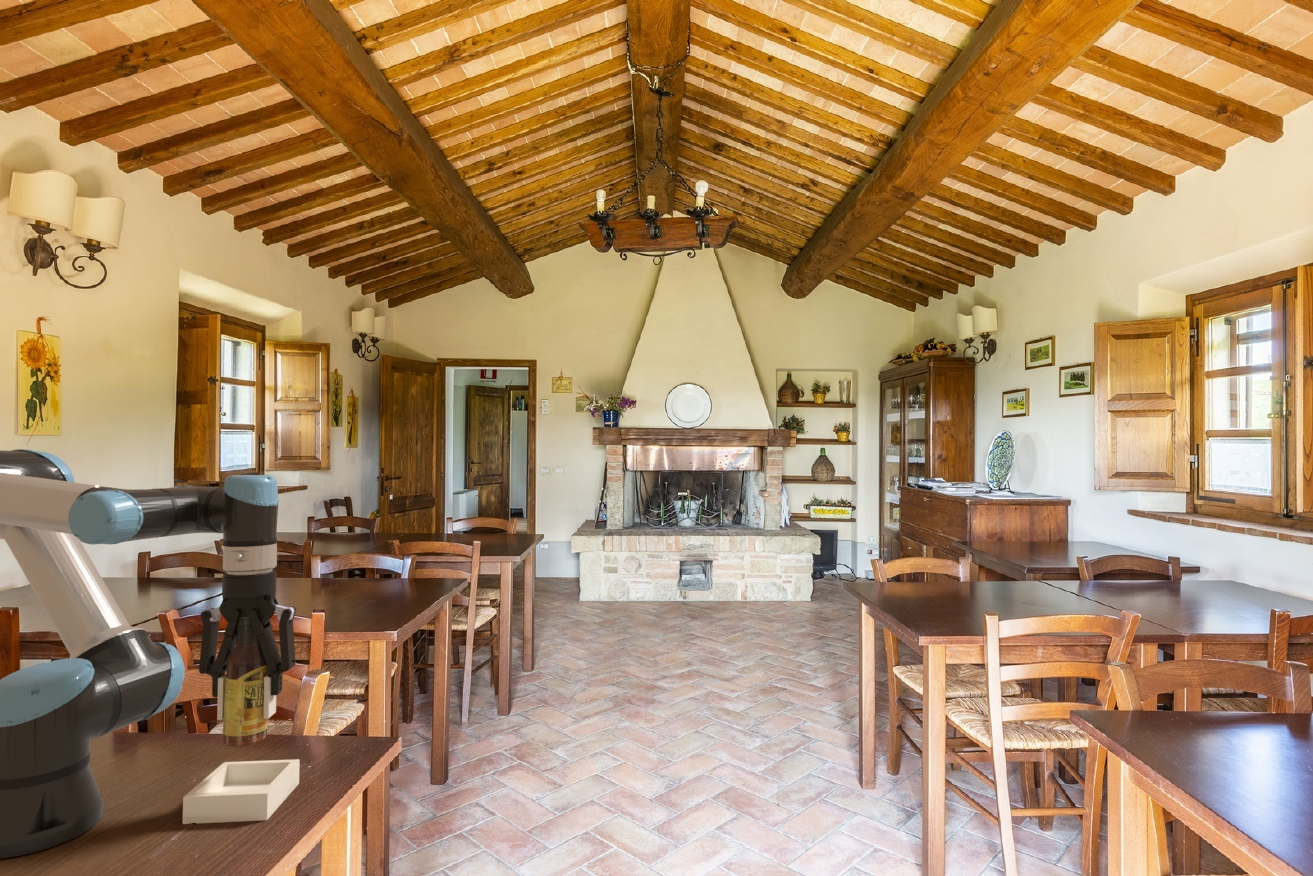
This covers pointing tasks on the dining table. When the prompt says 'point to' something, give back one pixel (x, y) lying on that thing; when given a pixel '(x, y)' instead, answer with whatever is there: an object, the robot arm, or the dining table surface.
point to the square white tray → (241, 791)
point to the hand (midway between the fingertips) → (246, 716)
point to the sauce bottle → (245, 690)
